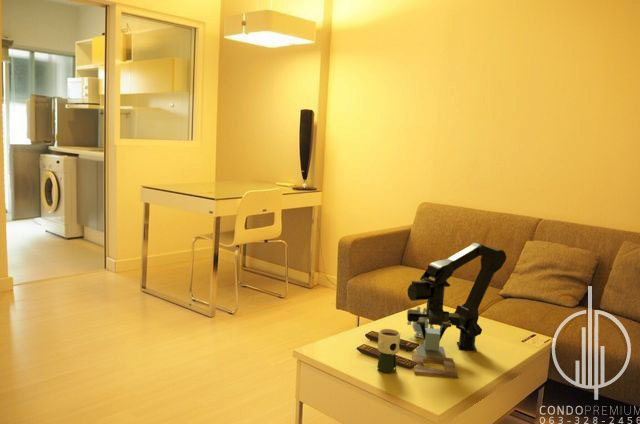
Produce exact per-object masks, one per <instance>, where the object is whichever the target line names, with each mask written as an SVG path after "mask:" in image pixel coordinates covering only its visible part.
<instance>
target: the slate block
mask: <svg viewBox="0 0 640 424" xmlns="http://www.w3.org/2000/svg"><path fill="white" fill-rule="evenodd" d="M440 342H441V340H440V328H439V329H438V328H434V329H430V327H428V328H425V340H424V339H423V345H424V348H425V349H430V350H439V346H440V344H441V343H440Z"/></svg>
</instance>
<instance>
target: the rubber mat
mask: <svg viewBox="0 0 640 424" xmlns="http://www.w3.org/2000/svg"><path fill="white" fill-rule="evenodd" d="M415 350H416V355H426V356H437V357H447V356H446V355H447V354H446V353H445V348H444V346H440V345H439V350H430V349H425V348H424V344H419V347H418V348H416V347H415Z"/></svg>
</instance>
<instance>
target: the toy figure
mask: <svg viewBox="0 0 640 424" xmlns="http://www.w3.org/2000/svg"><path fill="white" fill-rule="evenodd" d="M416 310H418V311H419V313H423V314H426V307H423V309H422V311H421V307H420V306H417V308H416ZM424 321H425V328H430V329H435V328H434V325H430V324H429V321H428V319H425V320H424ZM406 324H407V326H412V329H413V331H414V332H415V333H414V334H413V337H414V338H420V339H424V338H423V333H422V329H421V327H420V324H417V323H416V322H411V321H408V320H407V323H406Z"/></svg>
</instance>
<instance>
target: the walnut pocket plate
mask: <svg viewBox="0 0 640 424" xmlns="http://www.w3.org/2000/svg"><path fill="white" fill-rule="evenodd" d="M411 359H412V360H413V361H414V362H416V363H417V366H414V368H413V373H414V375H421V376H432V377H441V378H442V377H443V378H449V379H450V378H452V379H459V374H458V371H457V367H456V364H455V361H454V358H453V357H447V356H446V357H437V356H426V355H417V353H416V354H415V353H414V354H413V353H412V354H411ZM413 361H412V362H413ZM425 363H429V364H442V365H443V367H444V369H442V368H441V369H440V368H434V367H433V368H431V367H425Z"/></svg>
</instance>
